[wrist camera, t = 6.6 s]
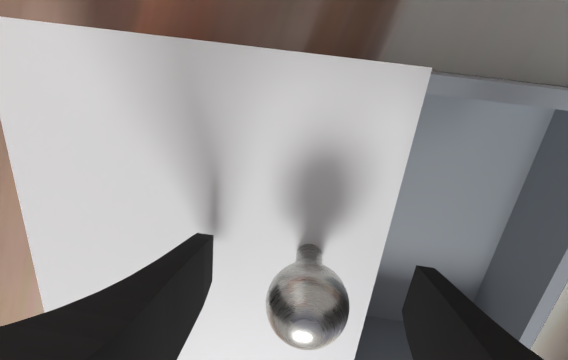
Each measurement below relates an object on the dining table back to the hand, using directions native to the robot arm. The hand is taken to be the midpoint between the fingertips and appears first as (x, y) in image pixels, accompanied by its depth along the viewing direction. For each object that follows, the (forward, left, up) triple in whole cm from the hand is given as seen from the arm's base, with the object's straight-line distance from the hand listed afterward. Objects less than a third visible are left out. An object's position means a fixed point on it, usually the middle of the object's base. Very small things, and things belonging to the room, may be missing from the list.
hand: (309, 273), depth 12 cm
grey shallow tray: (-3, 0, -6) cm, 6 cm away
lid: (+5, 0, -2) cm, 5 cm away
